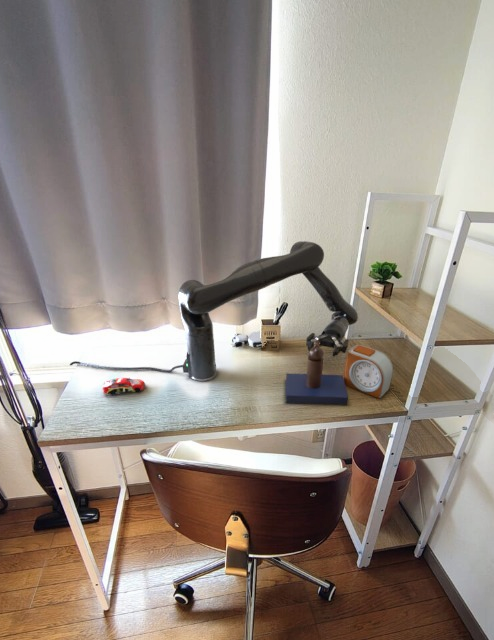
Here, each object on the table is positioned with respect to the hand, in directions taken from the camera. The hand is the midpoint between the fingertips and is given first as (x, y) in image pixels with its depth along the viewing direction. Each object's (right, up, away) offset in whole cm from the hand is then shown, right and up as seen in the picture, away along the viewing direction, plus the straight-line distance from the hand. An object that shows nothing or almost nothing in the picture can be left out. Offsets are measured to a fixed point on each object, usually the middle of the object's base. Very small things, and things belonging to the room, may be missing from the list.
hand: (321, 351), depth 125 cm
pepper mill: (-3, -11, 0) cm, 12 cm away
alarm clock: (+16, -12, +7) cm, 21 cm away
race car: (-66, -13, -1) cm, 67 cm away
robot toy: (-27, +6, +30) cm, 41 cm away
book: (-2, -14, +2) cm, 14 cm away
